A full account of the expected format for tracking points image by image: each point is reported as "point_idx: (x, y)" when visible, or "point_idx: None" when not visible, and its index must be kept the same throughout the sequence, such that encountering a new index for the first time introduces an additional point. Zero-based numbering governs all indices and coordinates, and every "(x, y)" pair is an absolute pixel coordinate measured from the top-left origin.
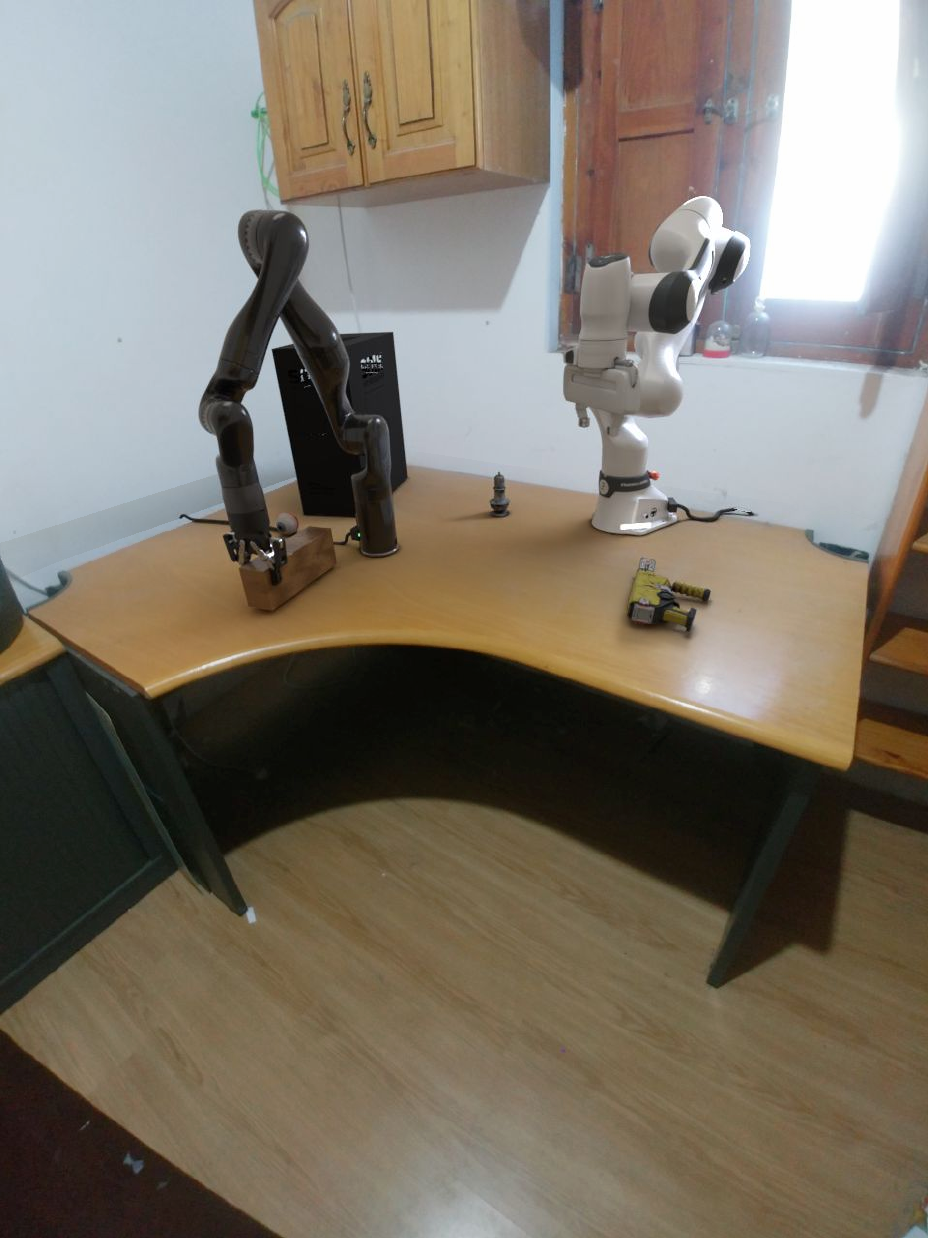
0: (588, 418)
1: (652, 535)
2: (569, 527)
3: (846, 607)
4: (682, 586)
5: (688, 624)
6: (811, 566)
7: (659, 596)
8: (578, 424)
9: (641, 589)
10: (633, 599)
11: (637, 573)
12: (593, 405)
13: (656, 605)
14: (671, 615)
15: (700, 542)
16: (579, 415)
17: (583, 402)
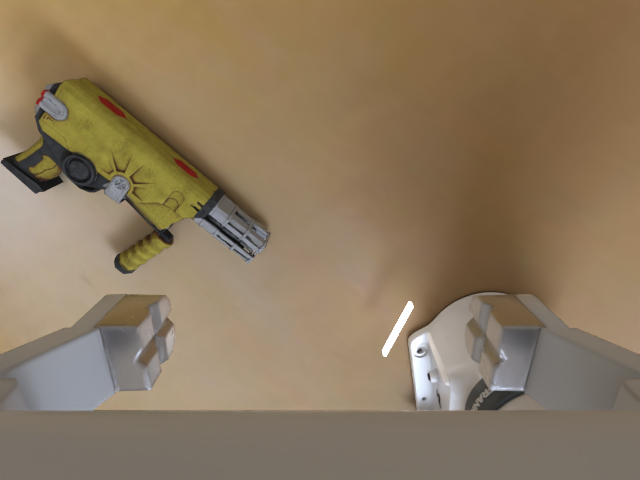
0: (489, 375)
1: (398, 353)
2: (540, 252)
3: None
4: (145, 241)
5: (14, 155)
6: None
7: (75, 154)
8: (534, 297)
9: (109, 139)
10: (63, 89)
11: (193, 187)
12: (265, 426)
13: (40, 123)
14: (36, 142)
15: (325, 393)
16: (568, 339)
17: (537, 431)
